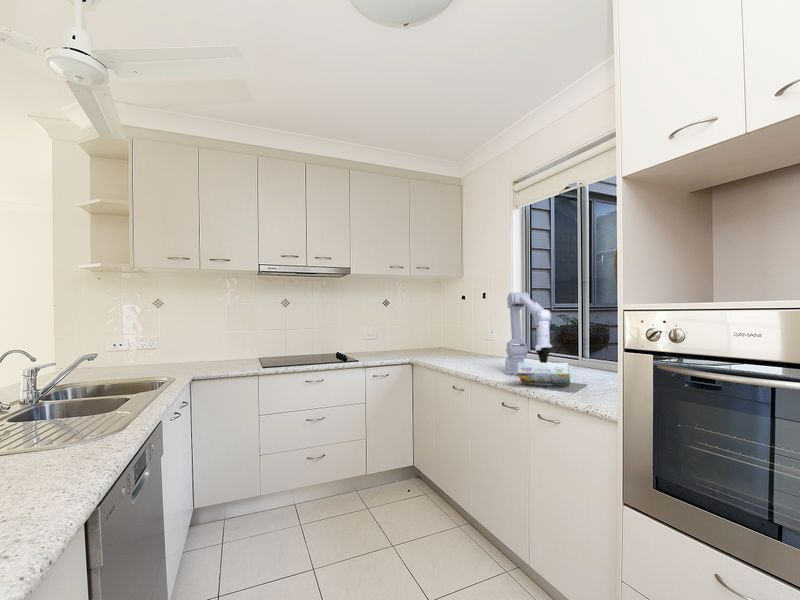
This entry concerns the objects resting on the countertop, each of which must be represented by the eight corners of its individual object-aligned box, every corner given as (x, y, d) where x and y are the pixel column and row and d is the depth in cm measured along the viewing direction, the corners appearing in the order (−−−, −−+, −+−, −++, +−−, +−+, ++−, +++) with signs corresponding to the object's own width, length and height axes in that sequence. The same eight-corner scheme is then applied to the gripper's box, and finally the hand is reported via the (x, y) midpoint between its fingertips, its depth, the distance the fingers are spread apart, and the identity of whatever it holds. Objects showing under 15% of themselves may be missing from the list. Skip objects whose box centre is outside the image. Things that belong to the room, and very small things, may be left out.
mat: (545, 389, 160) (545, 388, 160) (560, 382, 175) (560, 381, 175) (574, 393, 152) (574, 392, 152) (587, 385, 168) (587, 384, 168)
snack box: (569, 373, 168) (568, 362, 156) (570, 385, 165) (569, 375, 153) (521, 372, 176) (516, 361, 165) (521, 383, 174) (516, 374, 162)
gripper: (546, 336, 165) (546, 367, 165) (556, 334, 176) (557, 363, 176) (530, 336, 170) (531, 365, 169) (542, 334, 181) (542, 362, 180)
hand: (543, 364), depth 173 cm, fingers closed
